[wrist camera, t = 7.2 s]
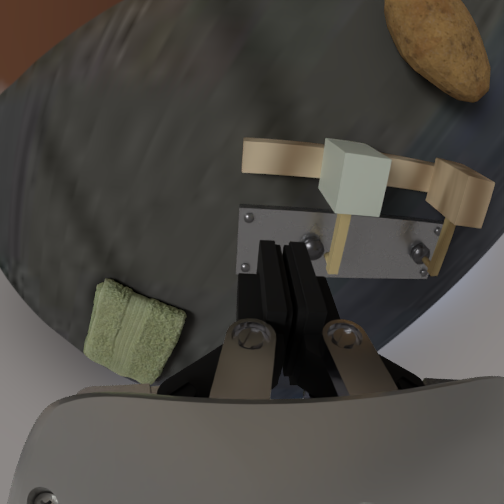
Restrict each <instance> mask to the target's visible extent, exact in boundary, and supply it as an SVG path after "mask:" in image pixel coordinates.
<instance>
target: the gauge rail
mask: <svg viewBox="0 0 504 504" xmlns="http://www.w3.org/2000/svg"><path fill="white" fill-rule="evenodd" d="M324 146H325V144H317V143H308V142H298V141H287V140H276V139H262V138H246V137H244V141H243V157H242V173H259V174H275V175H288V176H301V177H312V178H320V174H321V167H322V160H323V153H324ZM382 154H383V155H385V156H387V157H388V158H390V159H391V160H392V161H391V167H390V171H389V176H388V181H387V186H391V187H398V188H404V189H411V190H418V191H424V192H428V193H427V197H426V201H427V202H428V203H429V204H430V205H432V206H433V207H434V208H435V209H436V210H438V211H439V212H440V213H441V214H442V215H444V216H445V220H444V223H443V227H442V230H441V233H440V236H439V239H438V242H437V245H436V247H435V250H434V253H433V256H432V259H431V261H430V260H429V259H428V257H427V256H425V257H423V258H422V262H423V263H424V264H425V265H426V266H427V268H428V269H427V272H428V273H429V274H430V276H437V275H438V273H439V270H440V268H441V265H442V263H443V260H444V257H445V255H446V252H447V249H448V246H449V244H450V241H451V238H452V235H453V232H454V229H455V226H456V225H459V226H467V227H474V228H481V227H482V224H483V221H484V218H485V215H486V212H487V209H488V206H489V202H490V199H491V196H492V192H493V189H494V185H495V182H493V181H491V180H490V179H488V178H486V177H485V176H483V175H481V174H479V173H478V172H476V171H474V170H472V169H470V168H469V167H467V166H465V165H463V164H460V163H456V162H452V161H448V160H444V159H440V158H436V160H435V163H432V162H427V161H422V160H418V159H413V158H408V157H402V156H397V155H392V154H386V153H382Z"/></svg>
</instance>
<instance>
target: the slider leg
mask: <svg viewBox="0 0 504 504" xmlns="http://www.w3.org/2000/svg"><path fill="white" fill-rule="evenodd" d="M391 161H392V160H391V159H390V158H388V157H387V156H385V155H383V154H382V153H380V152H379V151H377V150H375V149H374V148H372V147H370V146H369V145H367V144H365V143H359V142H352V141H345V140H338V139H331V138H325V146H324V153H323V160H322V167H321V174H320V181H319V187H318V188H319V190H320V191H321V193H322V194H323V196H324V197H325V199H326V200H327V202H328V203H329V205H330V207H331V208H332V210H333V211H334V213H337V218H336V223H335V228H334V233H333V238H332V243H331V248H330V252H326V253H325V254H324V258H325V260H326V263H327V266H326V270H327V273H328V274H338V271H339V267H340V263H341V259H342V255H343V250H344V246H345V242H346V238H347V233H348V229H349V224H350V220H351V215H362V216H373V217H379V216H380V212H381V207H382V203H383V199H384V195H385V190H386V186H387V181H388V176H389V171H390V167H391Z"/></svg>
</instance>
